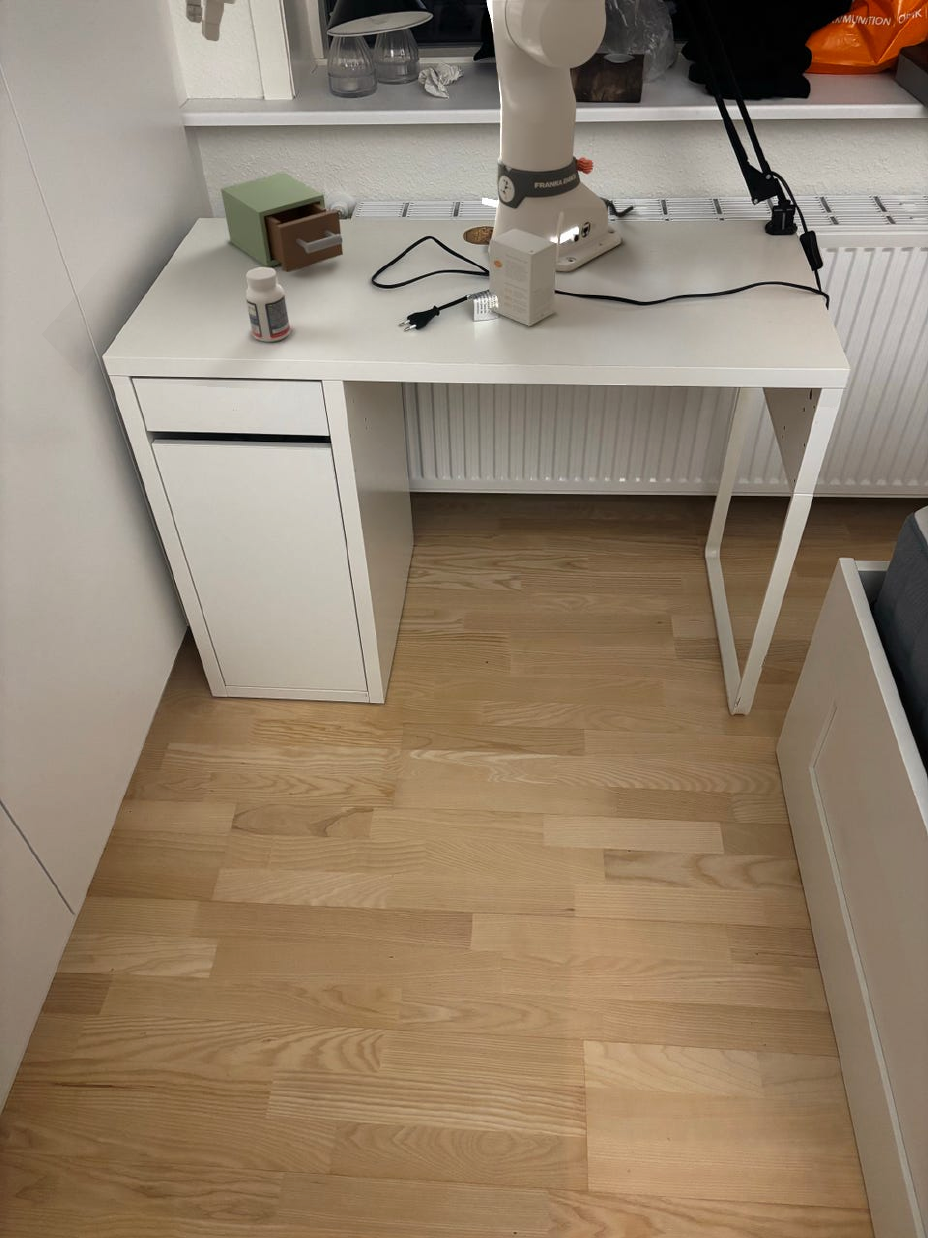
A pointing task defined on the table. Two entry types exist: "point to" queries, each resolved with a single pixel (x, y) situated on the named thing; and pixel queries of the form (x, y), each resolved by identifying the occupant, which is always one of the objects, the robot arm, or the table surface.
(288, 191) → the cabinet
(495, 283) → the small box
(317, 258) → the drawer
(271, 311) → the pill bottle
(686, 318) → the table surface
